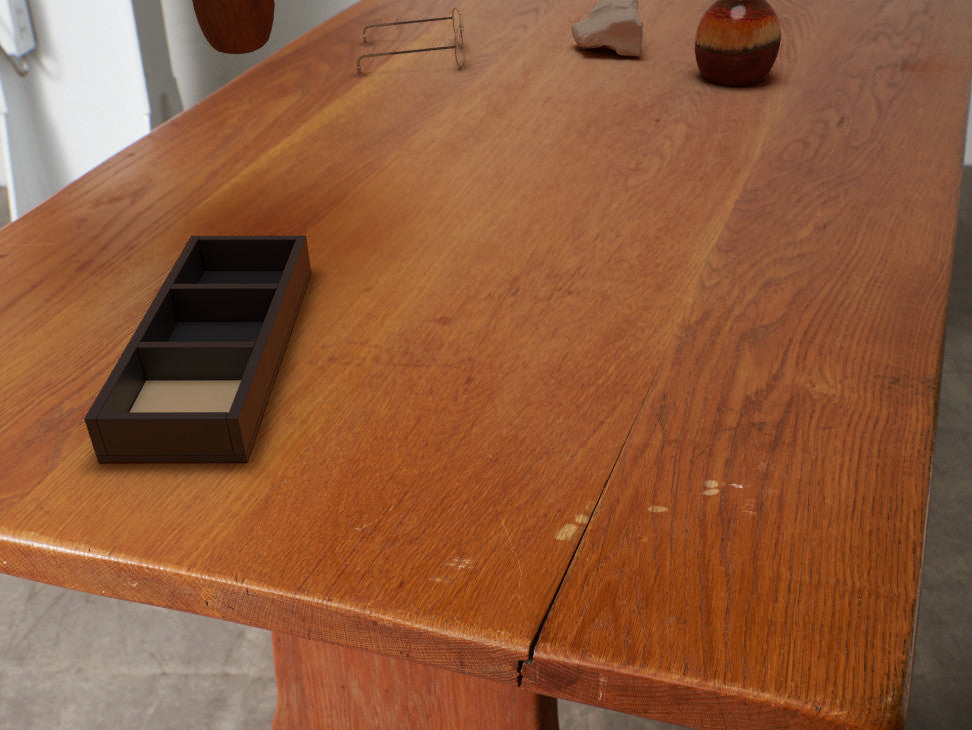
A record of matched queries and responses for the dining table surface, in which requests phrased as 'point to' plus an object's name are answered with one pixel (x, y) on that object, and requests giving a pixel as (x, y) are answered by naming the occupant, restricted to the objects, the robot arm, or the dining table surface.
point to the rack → (203, 354)
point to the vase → (737, 42)
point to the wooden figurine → (235, 23)
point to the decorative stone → (611, 27)
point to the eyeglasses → (417, 49)
